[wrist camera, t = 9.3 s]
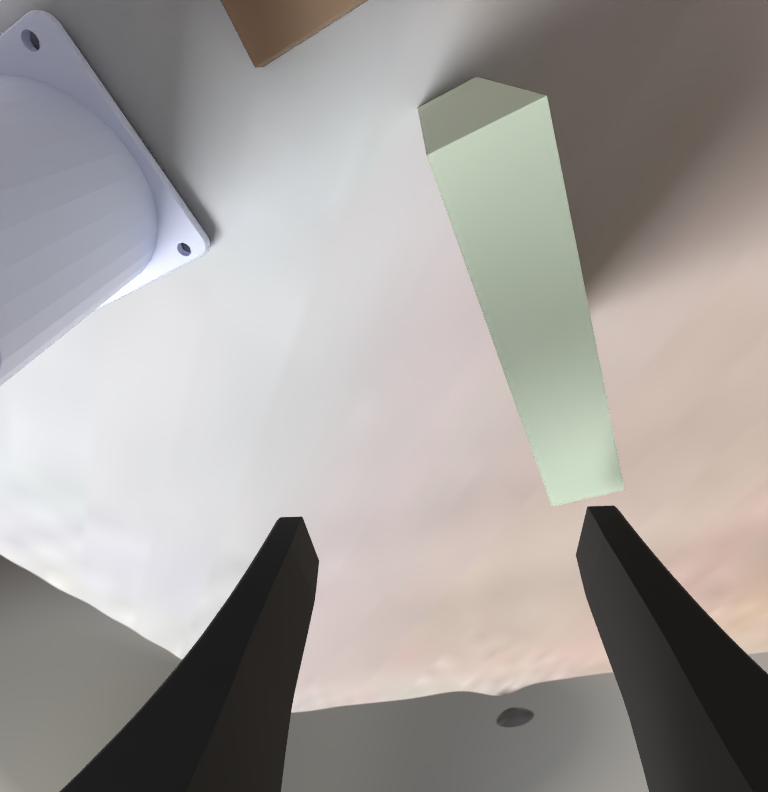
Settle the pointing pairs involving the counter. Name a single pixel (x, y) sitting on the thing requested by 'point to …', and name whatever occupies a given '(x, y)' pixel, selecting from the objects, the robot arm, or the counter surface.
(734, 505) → the counter surface
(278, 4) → the rack
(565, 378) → the sage green block
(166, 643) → the counter surface
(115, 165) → the robot arm
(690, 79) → the counter surface
